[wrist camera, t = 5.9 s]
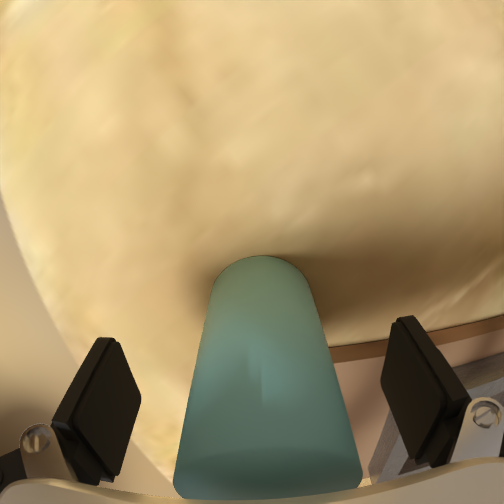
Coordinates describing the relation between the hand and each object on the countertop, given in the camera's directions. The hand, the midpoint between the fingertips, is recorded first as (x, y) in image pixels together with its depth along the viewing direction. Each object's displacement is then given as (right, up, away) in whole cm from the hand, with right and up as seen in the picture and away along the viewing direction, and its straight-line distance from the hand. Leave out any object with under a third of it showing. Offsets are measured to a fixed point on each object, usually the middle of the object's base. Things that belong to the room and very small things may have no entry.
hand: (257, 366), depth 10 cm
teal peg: (0, +2, +4) cm, 4 cm away
